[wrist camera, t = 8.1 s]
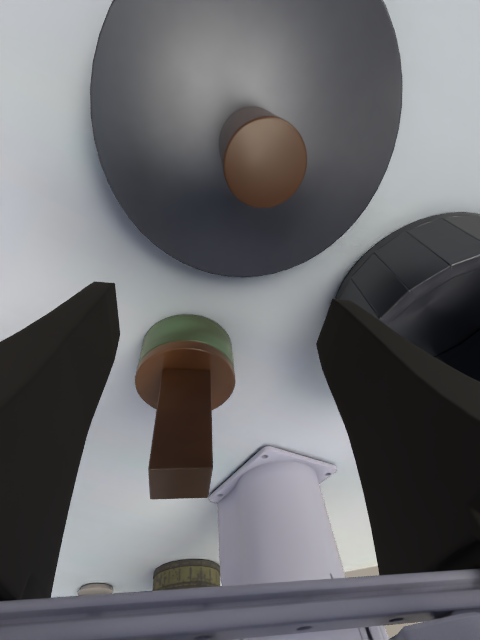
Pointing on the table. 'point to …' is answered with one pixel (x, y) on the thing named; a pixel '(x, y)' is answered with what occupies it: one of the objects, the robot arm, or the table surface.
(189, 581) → the green robed figurine
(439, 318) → the tin
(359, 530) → the table surface
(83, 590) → the rook chess piece
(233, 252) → the tin lid
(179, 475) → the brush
